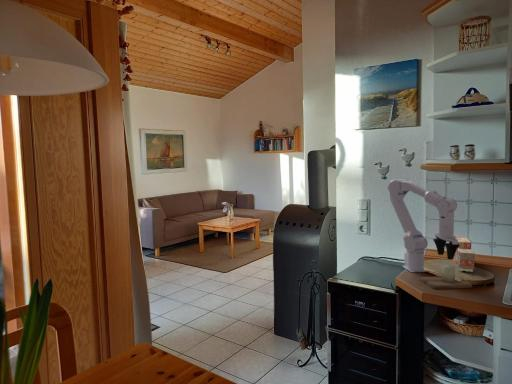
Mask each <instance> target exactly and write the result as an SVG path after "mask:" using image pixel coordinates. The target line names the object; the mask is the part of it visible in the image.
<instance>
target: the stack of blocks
mask: <svg viewBox="0 0 512 384" xmlns="http://www.w3.org/2000/svg"><path fill="white" fill-rule="evenodd" d="M456 239H457V240H458V244H459V247H458V248H457V250H456V252H455V255H454V258H453V259H452V261H455V262H456V264H457V265H458V267H459V268H463V269H472V270H474V271H475V260H476V252H474V250H473V249H472V242H471V241H470V240H469V238H468V237H466V236H465V237H464V236H462V237H460V236H456Z"/></svg>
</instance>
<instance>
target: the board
mask: <svg viewBox="0 0 512 384" xmlns="http://www.w3.org/2000/svg"><path fill="white" fill-rule="evenodd" d="M419 281H421V282H423V283H424V284H426V285H427V286H429V287H430V288H432V289H434V290H443V289H444V290H445V289H464V288H466V289H467V288H468V289H469V288H473V284H472V283H471V282H469V281H467V280H465V281H464V282H463V281H462V282H461V281H457V280H455V282H444V281H442V275H436V276H434V275H433V276H420V277H419Z"/></svg>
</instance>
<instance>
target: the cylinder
mask: <svg viewBox="0 0 512 384" xmlns="http://www.w3.org/2000/svg"><path fill="white" fill-rule="evenodd" d="M441 276H442V281H444V282H455V276H456V266H454V265H450V264H443V265H442V266H441Z"/></svg>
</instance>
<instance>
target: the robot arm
mask: <svg viewBox="0 0 512 384" xmlns="http://www.w3.org/2000/svg"><path fill="white" fill-rule="evenodd" d="M387 190H388V191H389V199H390V203H391V204H392V206H393V209H394V212H395V213H396V216H397V218H398V221H399V223H400V224H401V228H402V229H403V232H404V235H403V237H402V238H403V241H404V244H403V245H404V248H405V250H406V251H405V252H404V261H403V262H404V263H403V264H404V265H402V267H403V268H404V269H405V270H407V271H408V272H410V273H425V272H427V273H428V270H427V269H426V270H427V271H426V270H424V269H425V251H426V250H425V249H427V247H428V245H429V243H428V242H429V241H428V240H427V238H426V237H425V236H424V234H423V233H422V232H421V231H420V230H418V229H417V227H416V225H415V223H414V221H413V219H412V218H413V217H412V216H411V213H410V212H409V210H408V207H407V206H406V202H405V201H404V199H405V197H406V196H407V194H408V193H409V192H411V193H413V194H416V195H418V196H419V197H422V198H423V199H424V202H426V203H427V204H429V205H431V206H433V207H435V208H436V209H437V211H438V216H439V219H438V221H439V222H438V232H435V233H434V236H435V238H432V239H433V242H434V244H435V247H436V250H437V255H438V256H443V255H444V254H445V250H446V256H447V260H451V261H452V260H453V258H454V255H455V252H456V250H457V248H458V247H459V244H458V240H457V239H456V237H457V236H456V235H454V233H455V232H454V231H455V230H454V228H455V227H454V226H455V211H456V210H457V208H458V203H457V201H456V200H455V199H454V198H452V197H449V198H447V196H445V195H442V194H440V193H438V191H437V190H429V191H428V190H427V189H425V188H423V187H421V186H420V185H419V184H417V183H415V182H414V181H412V180H409V178H401V179H392V180H390V181H389V183H388V186H387ZM445 248H446V249H445Z"/></svg>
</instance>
